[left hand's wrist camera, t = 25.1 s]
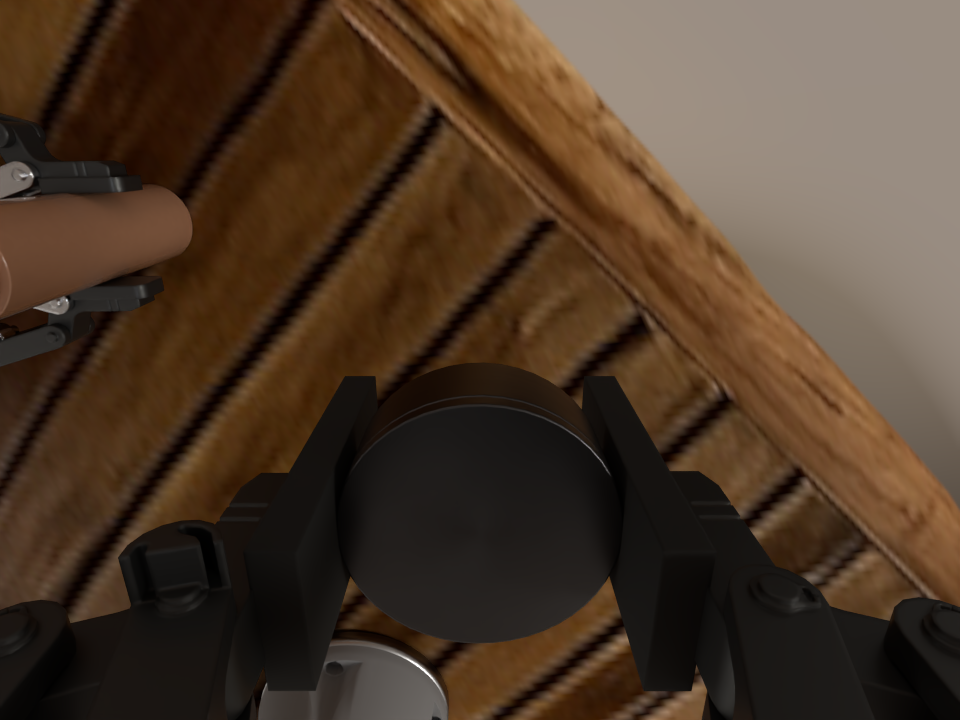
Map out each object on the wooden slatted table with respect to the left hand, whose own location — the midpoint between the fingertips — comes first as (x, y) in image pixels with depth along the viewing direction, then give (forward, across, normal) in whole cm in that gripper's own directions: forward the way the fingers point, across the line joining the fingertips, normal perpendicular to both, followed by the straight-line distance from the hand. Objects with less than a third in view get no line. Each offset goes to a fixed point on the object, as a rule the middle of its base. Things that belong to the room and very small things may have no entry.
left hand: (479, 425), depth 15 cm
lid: (-4, 0, 0) cm, 4 cm away
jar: (+22, +19, -2) cm, 29 cm away
